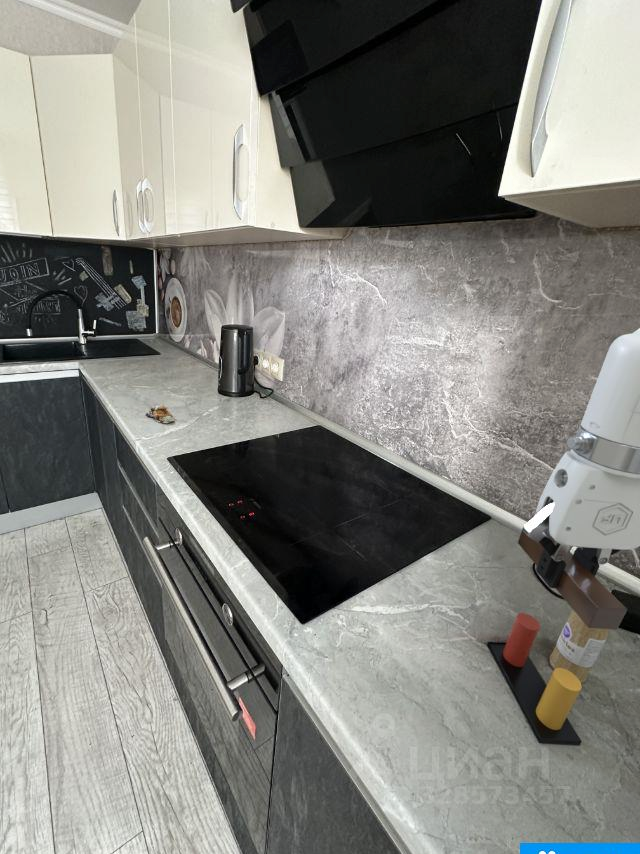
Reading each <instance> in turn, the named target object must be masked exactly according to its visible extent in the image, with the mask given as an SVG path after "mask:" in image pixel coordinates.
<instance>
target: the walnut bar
mask: <svg viewBox="0 0 640 854" xmlns="http://www.w3.org/2000/svg"><path fill="white" fill-rule="evenodd" d="M524 526H525V525H523V527H524ZM523 527H522V529H521V532H520V535H519V538H518V540H517V544H518V545H519V547H520V548H521V549H522V550H523V552H524V553H525V554H526V555H527V556H528V557H529V559H530V560H531V561H532V562H533V563H534V565H535V566H536V567H537V565H538V563H539V560H540V558H541V555H542V552H543V550H544V549H543V547H542V546H541V545H540V544H539V543H537V542H536V541H534V540H533V539H531V538H529V537H528V535H527V534H526V533H525V532H524V531H523ZM546 530H547V528H546V529H545V530H544V533H545V532H546ZM554 544H555V545H557V542H556V541H555V542H554ZM573 554H574V553H572V552H571V551H570V549H569V550H568V552H567V554H566V556H565V557H564V559H563V561H564V562H565V563H566V567H565V570H564V571H563V573H562V576H561V578H560V580H559V583H558V585H557V587H556V588H555V590H556V591H557V592H558V593H559V594H560V596H561V597H562V598H563V600H564V601H565V602H566V603H567V604H568V605H569V607H570V608H571V609H572V610H574V611H575V612H576V614H577V615H578V616H579V617H580V618H581V620H582V621H583V622H584V623H585V624H586V626H587V627H588V628H598V629H611V630H615V631H616V630H617V631H618V629H619V627H620V625H621V623H622V621H623V619H624V617H625V615H626V613H627V611H628V609H627V607H626V606H625V605H624V604H623V603H622V602H621V601H620V600H618V598H617V597H616V596H615V595H614V594H613V593H612V592H611V591H610V590H609V589H608V588H607V587H606V586H605V585H604V584H603V583H602V582H601V581H600V580H599V579H598V578H597V577H596V575H595V576H594V575H593V574H592V573H591V572H590V571H589V570H588V569H587V568H586V567H585V566H584V565H583V564H582V563H581V562H580V561H579V560H578V559H577V558H576V557H575V556H574V555H573Z"/></svg>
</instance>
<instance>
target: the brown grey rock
mask: <svg viewBox="0 0 640 854" xmlns="http://www.w3.org/2000/svg"><path fill="white" fill-rule="evenodd" d="M168 410H169V407H168V406H165V405H161V406H159V405H156V406H154V407H152V406H149V412H145V416H146V417H147V418H149V416H151V417H154V420H155V421H156V422H157V423H161V424H169V423H171V422H176V420H175V419H174V418H173V415H172V413H171V412H170V411H168Z"/></svg>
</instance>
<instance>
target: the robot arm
mask: <svg viewBox="0 0 640 854" xmlns="http://www.w3.org/2000/svg"><path fill="white" fill-rule="evenodd" d="M565 443H566V444H565V445H566V447H567V449H569V450H567V451H565V452H564V454H563V455H562V456H561V458H560V459H559V461H558V462H557V464H556V466H555V467H554V469H553V470H552V473H551V474H550V477H549V478H548V480H547V482H546V484H545V487H544V488H543V490H542V493H541V495H540V498H539V501H538V503H537V506H536V510H535V513H534V516H533V517H532V518H531V519H530V520H529V521H528V522H527V523H526V524H525V525H523V526H524V527H522V529H523V531H524V532H525V533H526V534H527V535H528V537H529V538H531V539H533V540H534V541H536V542H537V543H539V544H540V545H541V546H542V547H543V549H544V550H543V552H542V555H541V558H540V560H539V563H538V565H537V566H536V569H535V570H536V572H537V574H538V575H539V576H540V578H541V579H542V580H543V581H544V582H545V584H546V585H547V586H548V588H549V589H556V587H557V585H558V583H559V580H560V578H561V576H562V573H563V571H564V570H565V567H566V563H565V562H564V561H563V559H564V557H565V556H566V554H567V552H568V550H569V551H570V549H571V548H572V547H576V548H575V550H574V551H573V553H572V554H573V555H574V556H575V557H576V558H577V559H578V560H579V561H580V562H581V563H582V564H583V565H584V566H585V567H586V568H587V569H588V570H589V571H590V572H591V573H592V574H593V575H594V576H595V577H596V575H597V573H598V571H599V569H600V568H601V567H600V565H601V566H603V565H606V564H607V563H609V560H610V557H611V556H614V555H615V554H617V553H619V552H621V551H626V550H635V549H637V548H639V547H640V327H639V328H638V329H636V330H634V331H633V332H632V333H627V334H622V335H620V336H618V337H617V338H615V339H614V340H613V342H612V343H611V344H610V346H609V348H608V351H607V353H606V356H605V358H604V361H603V363H602V366H601V369H600V371H599V374H598V376H597V379H596V382H595V384H594V387H593V390H592V393H591V395H590V398H589V400H588V404H587V406H586V408H585V412H584V415H583V417H582V420H581V422H580V424H579V427H578V430H577V433H576V435H575V436H570V437H568V438H566V441H565ZM546 528H547V530H546V532H545V533H544V530H545V529H546ZM555 541H556V542H557V545H555V544H554V542H555Z"/></svg>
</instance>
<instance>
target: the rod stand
mask: <svg viewBox="0 0 640 854" xmlns="http://www.w3.org/2000/svg"><path fill="white" fill-rule="evenodd" d="M540 629H541V625H540V623H539V621H538V620H537V619H536V618H535V617H533V616H532V615H530V614H528V613H524V612H519V613H518V614H516V616H515V620H514V622H513V624H512V627H511V630H510V632H509V635H508V638H507V640H506V642H504V641H488V642H487V644H486V646H487V648H488V650H489V651H490V653H491V655H492V657H493V659H494V661H495V663H496V665H497V666H498V669H499V671H500V672H501V675H502V676H503V678H504V680H505V682H506V684H507V685H508V687H509V689H510V691H511V693H512V695H513V696H514V699H515V701H516V702H517V703H518V706H519V709H520V710H521V712H522V713H523V715H524V717H525V720H526V721H527V723H528V725H529V727H530V729H531V731H532V732H533V735H534V736H535V738H536V740H537V742H538V743H539V744H547V745H563V746H581V744H582V740H581V738H580V736H579V735H578V733H577V732H576V730H575V728H574V727H573V725H572V723H571V721H570V720H569V719H568V716H569V714H570V712H571V709H572V708H573V706H574V704H575V702H576V700H577V698H578V696H579V694H580V693H581V691H582V687H583V685H582V683H581V682H580V680H579V679H578V678H577V677H576V676H575V675H574V674H573V673H572V672H570V671H568V670H566V669H564V668H556V669H555V670H554V669H553V672H552V673H551V676H550V678H549V680H548V681H547V683H546V682H545V680H544V679H543V676H542V675H541V673H540V672H539V670H538V669H537V667H536V666H535V664H534V662H533V661H532V659H531V658H530V656H529V655H530V652H531V650H532V648H533V645H534V643H535V641H536V638H537V636H538V633H539V631H540Z"/></svg>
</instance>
